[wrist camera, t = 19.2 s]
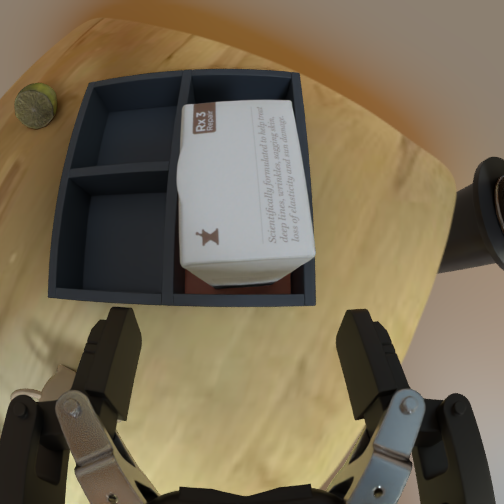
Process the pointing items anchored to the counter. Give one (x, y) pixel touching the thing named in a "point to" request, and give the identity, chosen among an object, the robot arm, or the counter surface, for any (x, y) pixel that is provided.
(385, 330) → the robot arm
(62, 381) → the decorative ornament
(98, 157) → the grid
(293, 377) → the counter surface
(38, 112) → the lime
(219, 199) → the cosmetic box
